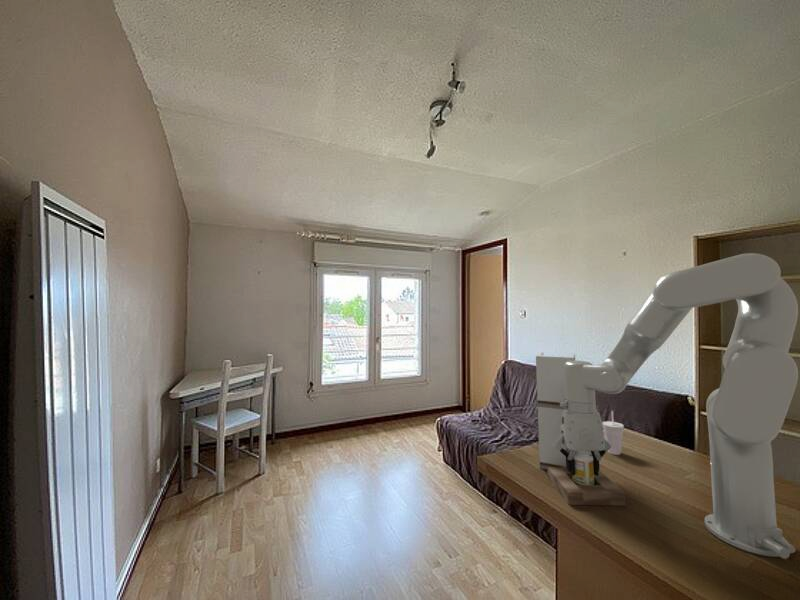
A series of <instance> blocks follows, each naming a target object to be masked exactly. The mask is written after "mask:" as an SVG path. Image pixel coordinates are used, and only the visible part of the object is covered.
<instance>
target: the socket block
mask: <svg viewBox="0 0 800 600" xmlns="http://www.w3.org/2000/svg"><path fill="white" fill-rule="evenodd" d="M546 471H547V478H548V480H549V481H550V482H551V484H552V485H553V486H554V488H556V490H557V491H558V492H559V494H560V495H561V497H562V498H563V499H564V501H566V502H565V503H567V504H568V505H573V506H574V505H577V506H578V505H580V506H582V505H586V506H595V505H596V506H627V504H626V492H625V491H623V490H622V488H620V487H619V486H618V485H617V484H616V483H615V482H614V481H613V480H611V479H610V478H609V477H608V476H606V475H605V474H604V473H603V472H602V471H601V470H599V471H598V473H599V475H598V476H596V475H595V474H594V484H593V485H579V484H577V483H575V482H574V481H573V480H572V474H571V473H570V472H569V471H568V470H567V469H566V467H547V470H546Z"/></svg>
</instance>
